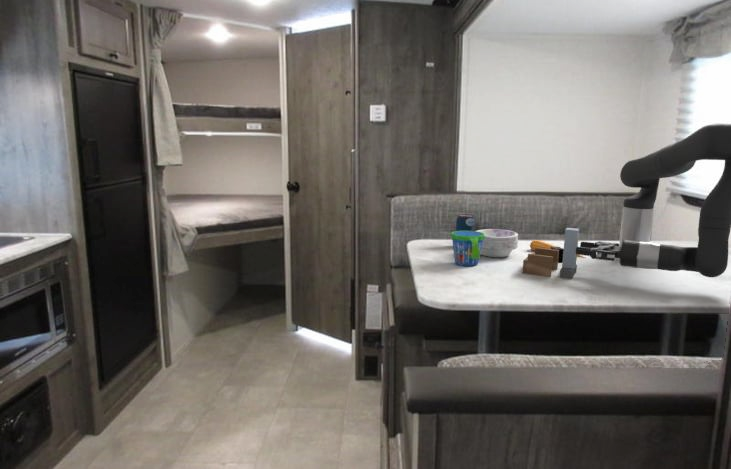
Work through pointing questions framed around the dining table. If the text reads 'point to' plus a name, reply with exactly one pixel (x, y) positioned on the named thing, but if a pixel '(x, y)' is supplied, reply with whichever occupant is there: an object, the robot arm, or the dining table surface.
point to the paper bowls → (498, 242)
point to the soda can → (465, 222)
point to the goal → (541, 262)
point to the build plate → (559, 253)
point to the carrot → (543, 246)
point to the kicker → (569, 253)
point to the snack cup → (467, 247)
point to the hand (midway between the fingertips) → (578, 247)
